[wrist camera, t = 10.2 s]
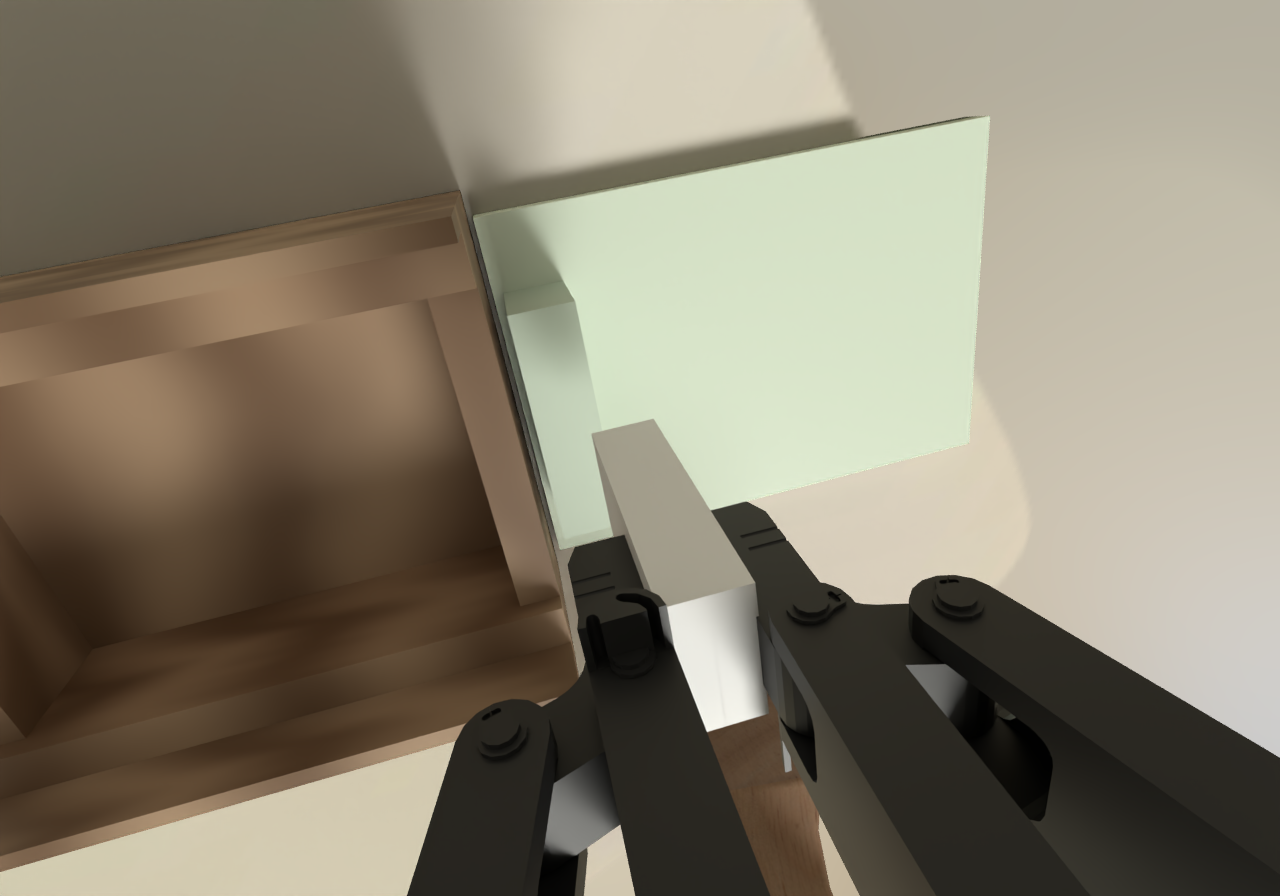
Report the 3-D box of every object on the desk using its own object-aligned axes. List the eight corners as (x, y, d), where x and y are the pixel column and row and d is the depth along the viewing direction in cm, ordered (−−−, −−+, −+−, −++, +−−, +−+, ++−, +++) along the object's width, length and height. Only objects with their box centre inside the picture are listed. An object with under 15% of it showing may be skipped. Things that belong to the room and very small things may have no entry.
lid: (556, 532, 25) (569, 598, 22) (472, 213, 20) (471, 230, 16) (949, 431, 27) (1021, 476, 23) (965, 116, 22) (1059, 113, 18)
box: (94, 682, 23) (-49, 885, 17) (-170, 308, 17) (-538, 406, 11) (557, 562, 25) (583, 703, 19) (460, 190, 19) (451, 216, 13)
